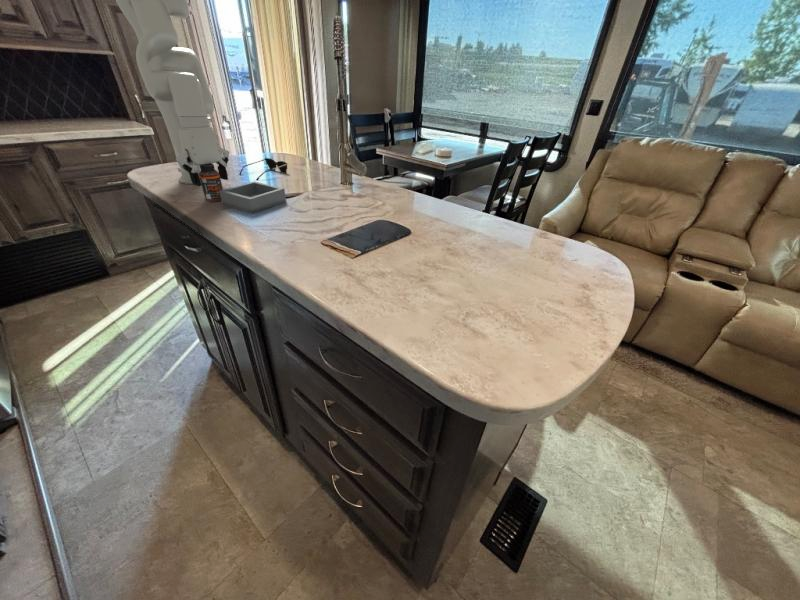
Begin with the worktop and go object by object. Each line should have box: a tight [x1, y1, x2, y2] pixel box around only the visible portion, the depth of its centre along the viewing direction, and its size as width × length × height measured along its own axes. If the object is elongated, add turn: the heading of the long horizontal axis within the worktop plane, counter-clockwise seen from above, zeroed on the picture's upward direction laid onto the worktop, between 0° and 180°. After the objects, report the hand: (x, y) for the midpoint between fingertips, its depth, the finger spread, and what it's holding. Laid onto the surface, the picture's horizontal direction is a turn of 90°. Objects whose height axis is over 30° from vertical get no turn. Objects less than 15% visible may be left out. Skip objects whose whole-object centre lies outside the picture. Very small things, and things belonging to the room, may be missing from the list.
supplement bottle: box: [199, 163, 224, 203], centre depth 107 cm, size 6×6×11 cm
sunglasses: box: [238, 157, 289, 181], centre depth 138 cm, size 14×16×5 cm
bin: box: [219, 180, 287, 214], centre depth 108 cm, size 14×14×4 cm
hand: (211, 182), depth 106 cm, fingers open, 9 cm apart
